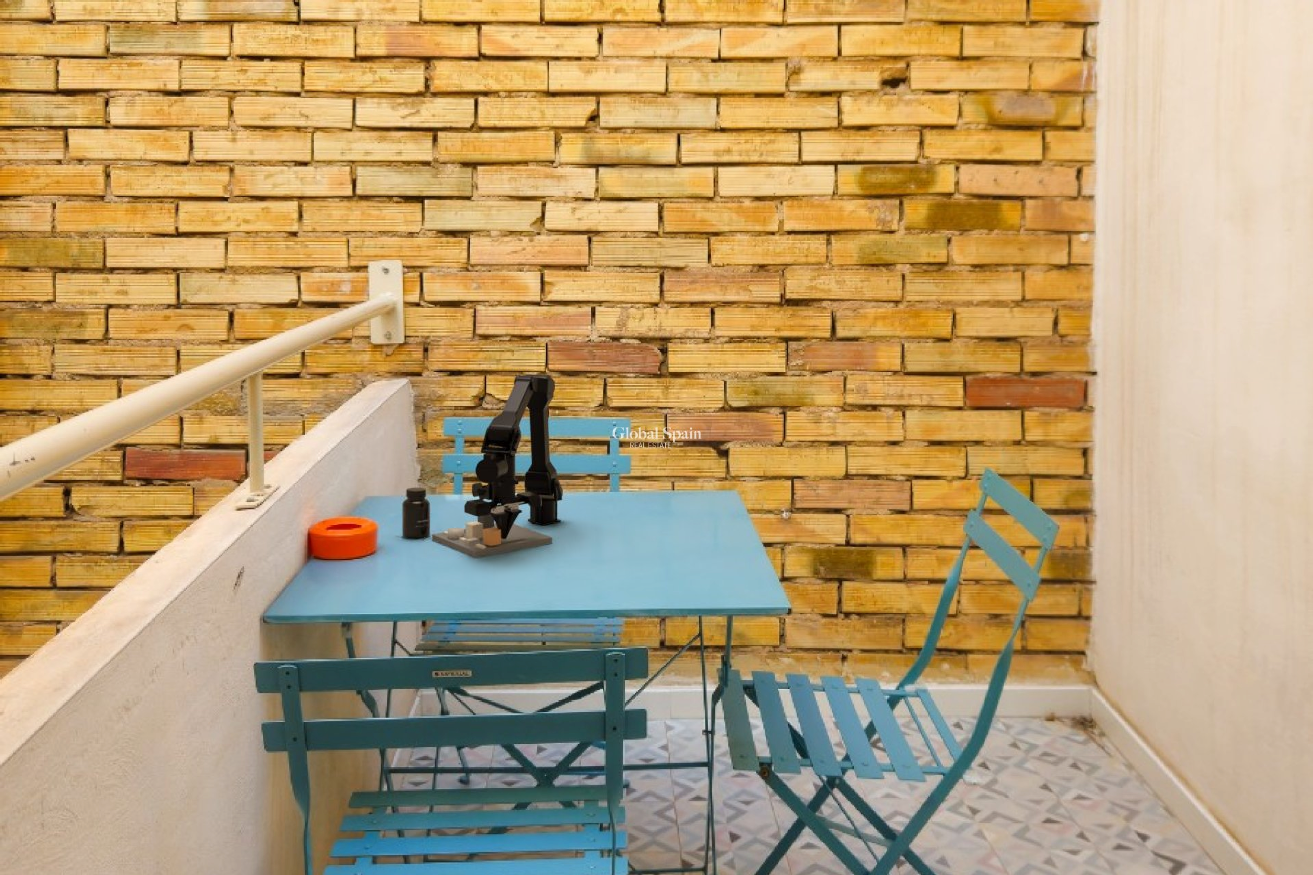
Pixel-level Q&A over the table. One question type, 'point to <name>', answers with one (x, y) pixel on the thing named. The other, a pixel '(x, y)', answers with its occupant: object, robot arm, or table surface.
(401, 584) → the table surface
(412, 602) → the table surface
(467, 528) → the ivory slider
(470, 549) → the control board
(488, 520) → the dark brown slider
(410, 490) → the supplement bottle
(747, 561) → the table surface
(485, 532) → the orange slider
